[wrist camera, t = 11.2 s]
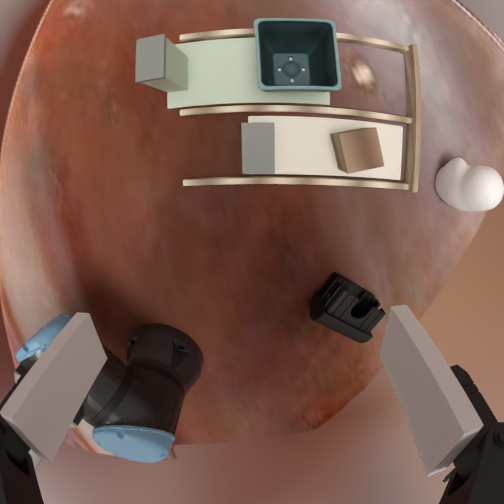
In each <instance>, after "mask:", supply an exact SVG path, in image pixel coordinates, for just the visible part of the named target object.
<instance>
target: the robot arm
mask: <svg viewBox="0 0 504 504" xmlns="http://www.w3.org/2000/svg"><path fill="white" fill-rule="evenodd" d="M379 357H380V359H381V361H382V363H383V366H384V368H385V370H386V372H387V374H388V377H389V379H390V381H391V384H392V386H393V389H394V391H395V393H396V396H397V398H398V400H399V403H400V405H401V408H402V410H403V413H404V415H405V418H406V420H407V423H408V425H409V428H410V430H411V433H412V435H413V438H414V441H415V444H416V447H417V449H418V452H419V455H420V458H421V460H422V463H423V466H424V469H425V472H426V475H427V476H430V475H433V474H435V473H437V472H440V471H443V470H445V469H446V468H447V467H448V466H449V465H450V464H451V463H452V462H453V463H454V465H455V468H454V469H453V470H452V471H451V472H450V473H449V474H448V475H447V476H446V477H445V479H444V480H443V482H446V481H447V480H448V479H449V478H450V479H449V482H448V484H447V487H446V489H445V491H444V494H443V496H442V498H441V500H440V502H439V504H504V422H498V421H497V420H496V418H495V416H494V415H493V413H492V411H491V410H490V408H489V406H488V405H487V403H486V401H485V399H484V398H483V396H482V395H481V393H480V392H478V391H479V390H478V388H477V387H476V385H475V384H473V383H474V382H473V381H472V379H471V378H470V376H469V374H468V373H467V372H466V371H465V370H463V369H462V368H461V367H459V366H458V365H455V366H451V367H449V366H448V364H447V363H446V361H445V359H444V358H443V356H442V355H441V354H440V352H439V350H438V349H437V347H436V346H435V344H434V343H433V341H432V340H431V338H430V337H429V336H428V334H427V333H426V331H425V330H424V328H423V327H422V326H421V324H420V323H419V321H418V320H417V319H416V317H415V316H414V314H413V313H412V312H411V310H410V309H409V308H408V306H407V305H398V306H391V308H390V312H389V317H388V322H387V326H386V330H385V335H384V339H383V343H382V347H381V350H380V354H379ZM16 358H17V361H18V362H19V363H21V364H20V365H19V366H18V368H17V369H16V370H15V372H14V375H15V384H14V386H13V387H12V390H10V391H9V393H8V394H7V396H6V397H5V398H4V400H3V401H2V403H1V404H0V504H44V503H43V500H42V496H41V492H40V489H39V485H38V482H37V477H36V473H35V471H36V470H37V468H38V466H39V465H40V463H41V462H42V460H43V459H45V460H46V461H49V462H51V463H52V462H53V460H54V457H55V455H56V453H57V451H58V449H59V447H60V445H61V443H62V441H63V439H64V437H65V435H66V433H67V431H68V429H69V428H76V427H77V426H78V424H79V423H80V421H81V420H82V419H84V420H85V421H86V422H88V423H89V424H90V425H92V426H93V427H94V429H93V431H92V433H93V439H94V441H95V442H97V444H98V445H99V446H100V447H102V448H103V449H105V450H106V451H108V452H110V453H112V454H114V455H117V456H119V457H122V458H125V459H129V460H134V461H138V462H156V461H161V460H163V459H164V458H166V457H167V455H168V454H169V451H170V448H171V446H172V443H173V441H174V440H175V436H174V435H175V431H176V428H177V424H178V420H179V416H180V412H181V408H182V404H183V400H184V397H185V394H186V393H187V392H188V390H189V389H190V388H191V387H192V386H193V384H194V383H195V382H196V381H197V379H198V378H199V376H200V374H201V370H202V366H203V357H202V353H201V351H200V349H199V348H198V346H197V345H196V343H195V342H194V341H193V340H192V339H191V338H189V337H188V336H187V335H185V334H184V333H182V332H180V331H179V330H176V329H174V328H172V327H168V326H164V325H158V324H151V325H145V326H142V327H140V328H138V329H137V330H136V331H135V332H134V333H133V334H132V336H131V338H130V339H129V341H128V344H127V347H126V357H125V364H124V363H123V362H122V361H121V360H120V359H119V358H117V357H116V356H115V355H114V354H113V353H112V352H111V351H110V350H109V349H108V348H106V347H105V346H104V345H103V344H102V343H101V342H100V340H99V337H98V335H97V332H96V330H95V327H94V324H93V322H92V319H91V316H90V314H89V313H80V312H77V313H76V314H75V315H74V316H73V315H71V314H69V313H63V314H60V315H58V316H57V317H55V318H54V319H53V320H51V321H50V322H49V323H47V324H46V325H45V326H44V327H42V328H41V329H40V330H39V331H38V332H37V333H35V334H34V335H33V336H32V337H31V338H30V339H29V340H28V341H27V342H26V343H25V344H24V345H23V346H22V347H21V348H20V349H19V350H18V351H17V352H16Z"/></svg>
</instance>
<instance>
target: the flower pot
mask: <svg viewBox="0 0 504 504" xmlns="http://www.w3.org/2000/svg"><path fill="white" fill-rule="evenodd" d="M254 32H255V45H256V60H257V82H258V87H259V88H260V89H261V90H262V91H264V92H322V93H324V92H332V91H337V90H340V89H341V74H340V65H339V55H338V45H337V35H336V26H335V23H334V21H332V20H327V19H307V18H260V19H256V20H255V21H254ZM290 57H292V58H293V60H289V58H290ZM278 68H281V71H278ZM302 68H305V71H302ZM292 78H293V79H294V82H291V81H290V79H292Z"/></svg>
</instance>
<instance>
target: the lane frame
mask: <svg viewBox="0 0 504 504" xmlns="http://www.w3.org/2000/svg"><path fill="white" fill-rule="evenodd" d="M336 35H337V41H342V42H349V43H356V44H362V45H368V46H373V47H379V48H383V49H388V50H393V51H397V52H401V53H404V58H405V71H406V91H407V117H402V116H396V115H390V114H383V113H376V112H369V111H360V110H351V109H341V108H329V107H314V106H289V105H247V106H222V107H207V108H195V109H184V110H180V116H190V115H202V114H217V113H239V112H297V113H319V114H333V115H345V116H355V117H364V118H373V119H380V120H387V121H394V122H400V123H406V124H407V143H406V164H405V178H404V183H403V182H391V181H379V180H365V179H348V178H325V177H283V176H252V177H210V178H188V179H184V180H183V186H193V185H221V184H314V185H342V186H362V187H378V188H392V189H404V190H409V191H412V192H417V188H418V177H419V164H420V145H421V90H420V72H419V59H418V49H417V45H414V44H412V45H410V46H404V45H400V44H396V43H392V42H388V41H383V40H378V39H373V38H368V37H362V36H356V35H350V34H343V33H336ZM237 37H255V32H254V29H232V30H218V31H208V32H199V33H191V34H184V35H180V41H181V42H182V43H185V42H192V41H201V40H210V39H222V38H237Z"/></svg>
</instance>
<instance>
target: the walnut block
mask: <svg viewBox="0 0 504 504" xmlns="http://www.w3.org/2000/svg"><path fill="white" fill-rule="evenodd" d="M330 136H331V140H332V144H333V149H334V153H335V157H336V161H337V166H338V169H339V170H341V171H343V172H345V173H347V174H350V173H355V172H359V171H364V170H369V169H374V168H378V167H383V166H384V162H383V157H382V152H381V147H380V142H379V137H378V133H377V128H376V127H371V128H359V129H354V130H348V131H343V132H338V133H333V134H330Z"/></svg>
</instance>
